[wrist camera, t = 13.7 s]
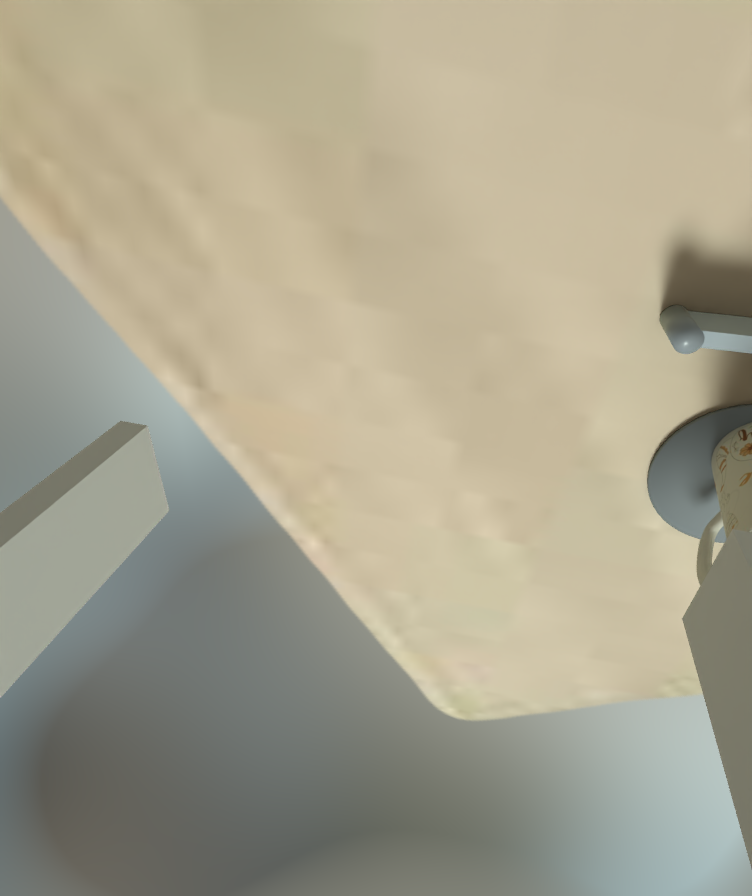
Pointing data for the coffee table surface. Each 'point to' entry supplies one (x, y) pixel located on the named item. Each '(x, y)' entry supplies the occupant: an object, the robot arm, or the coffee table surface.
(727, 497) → the mug
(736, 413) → the coaster
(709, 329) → the fence
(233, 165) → the coffee table surface
